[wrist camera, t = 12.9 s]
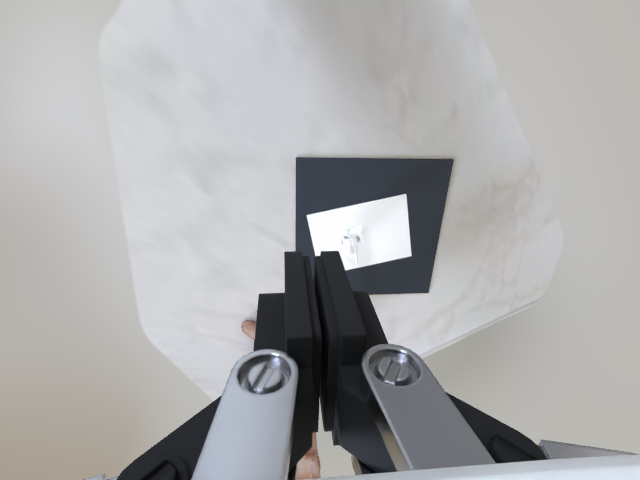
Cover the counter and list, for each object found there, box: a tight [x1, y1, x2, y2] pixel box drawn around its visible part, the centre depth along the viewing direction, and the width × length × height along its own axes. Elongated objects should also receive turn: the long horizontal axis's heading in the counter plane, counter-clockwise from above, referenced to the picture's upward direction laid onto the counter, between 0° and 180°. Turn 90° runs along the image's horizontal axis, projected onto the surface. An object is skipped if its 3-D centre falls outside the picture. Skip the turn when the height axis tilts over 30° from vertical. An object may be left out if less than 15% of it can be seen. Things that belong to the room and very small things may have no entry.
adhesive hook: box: [339, 223, 364, 264], centre depth 35 cm, size 3×3×3 cm
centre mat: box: [296, 158, 453, 294], centre depth 36 cm, size 15×15×1 cm
